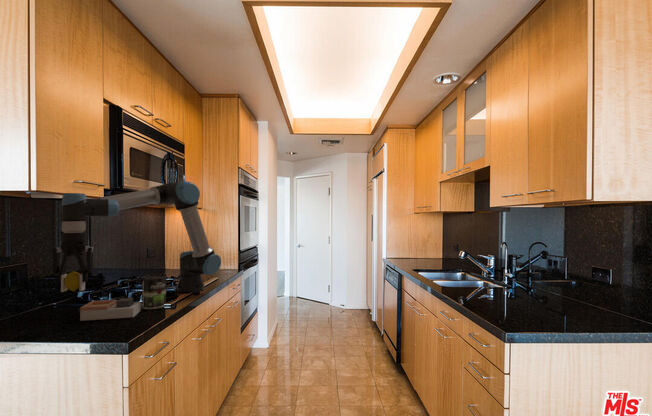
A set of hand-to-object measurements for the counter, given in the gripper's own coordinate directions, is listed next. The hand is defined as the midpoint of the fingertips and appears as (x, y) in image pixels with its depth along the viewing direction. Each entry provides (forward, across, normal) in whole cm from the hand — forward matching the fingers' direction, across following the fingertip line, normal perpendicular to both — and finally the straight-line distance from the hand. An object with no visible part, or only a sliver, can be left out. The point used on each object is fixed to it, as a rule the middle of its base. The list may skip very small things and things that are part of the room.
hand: (73, 290), depth 125 cm
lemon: (+1, 0, 0) cm, 1 cm away
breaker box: (+15, -9, -13) cm, 22 cm away
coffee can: (+15, -23, -24) cm, 37 cm away
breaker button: (+14, -14, -13) cm, 24 cm away
